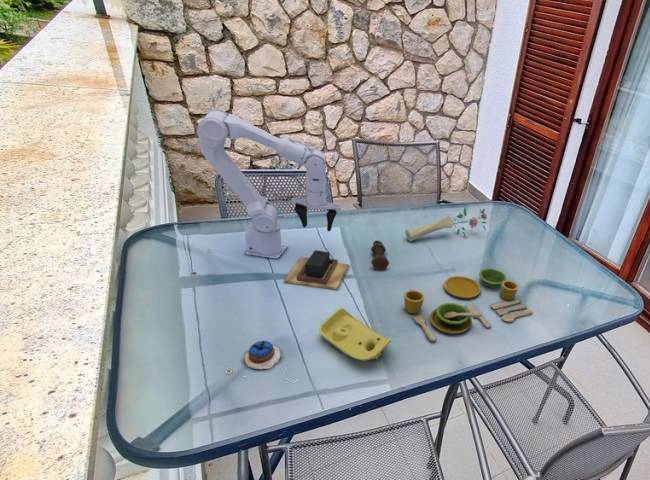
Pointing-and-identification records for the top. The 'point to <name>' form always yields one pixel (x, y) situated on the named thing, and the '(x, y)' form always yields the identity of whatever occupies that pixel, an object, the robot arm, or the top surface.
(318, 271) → the black rectangular block
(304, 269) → the mount plate
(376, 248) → the brown figurine
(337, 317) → the plastic component
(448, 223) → the flower vase
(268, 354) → the dessert
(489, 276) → the tableware set
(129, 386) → the top surface
